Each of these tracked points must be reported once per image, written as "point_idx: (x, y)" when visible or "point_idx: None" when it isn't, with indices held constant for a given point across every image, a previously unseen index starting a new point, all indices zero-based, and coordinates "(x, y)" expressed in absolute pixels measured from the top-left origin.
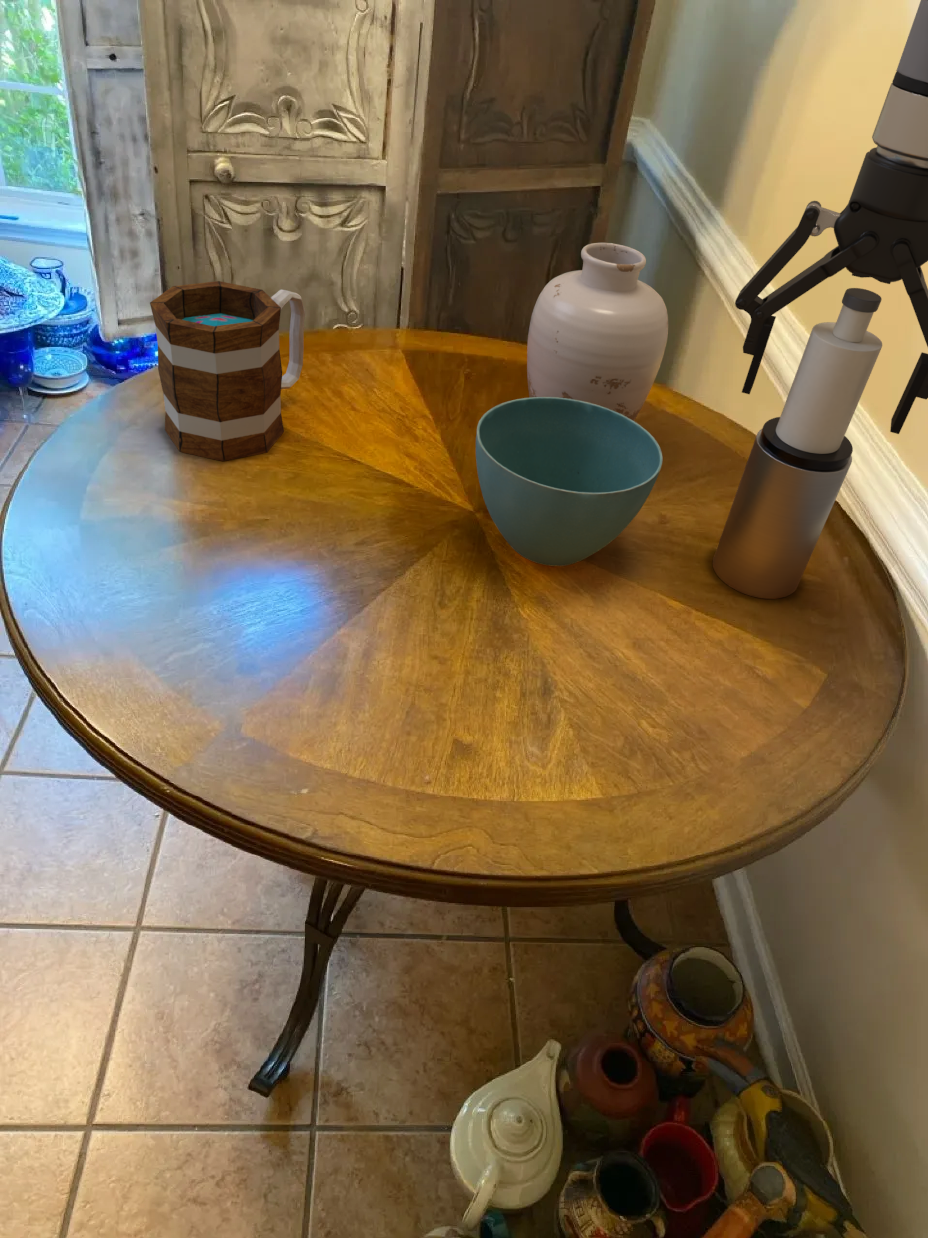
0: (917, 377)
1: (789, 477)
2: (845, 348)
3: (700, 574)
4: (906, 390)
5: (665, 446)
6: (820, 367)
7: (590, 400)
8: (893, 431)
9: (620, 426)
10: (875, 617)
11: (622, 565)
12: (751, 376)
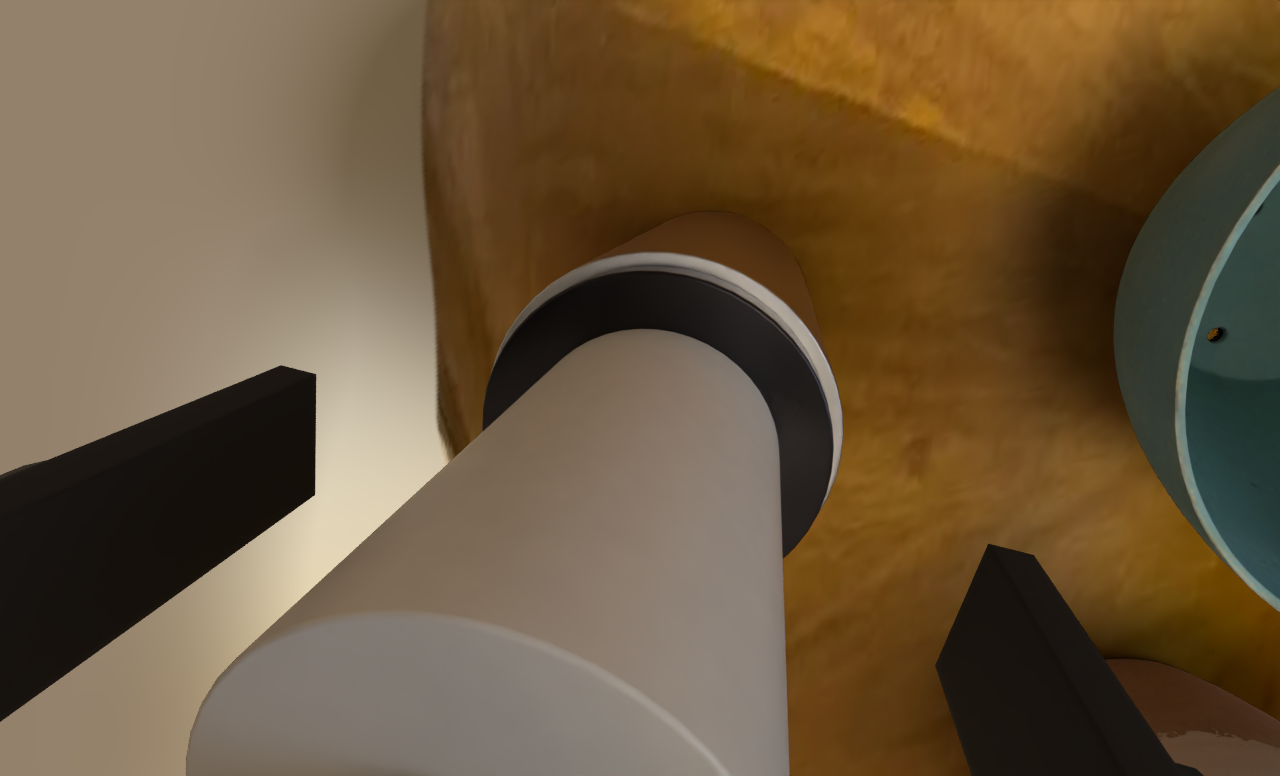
0: (15, 503)
1: (717, 255)
2: (493, 633)
3: (842, 261)
4: (171, 528)
5: (881, 738)
6: (687, 551)
7: (1270, 774)
8: (301, 372)
9: (1266, 584)
10: (459, 226)
11: (1050, 235)
12: (1046, 612)
